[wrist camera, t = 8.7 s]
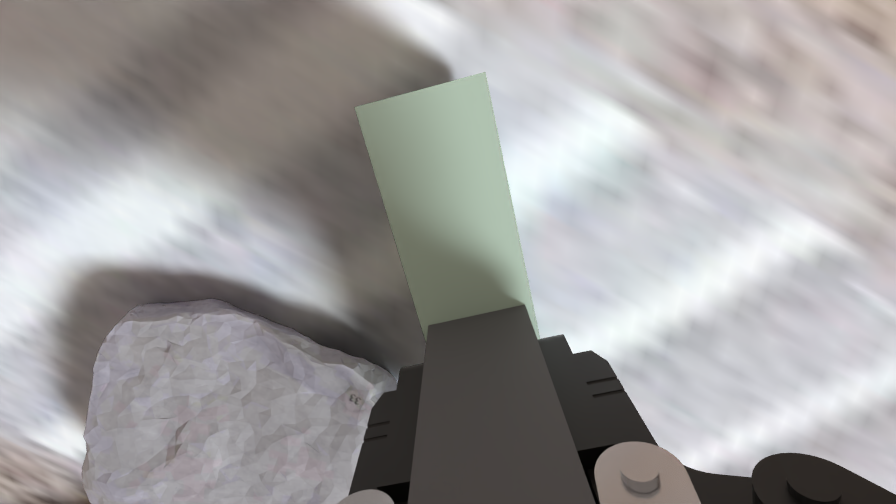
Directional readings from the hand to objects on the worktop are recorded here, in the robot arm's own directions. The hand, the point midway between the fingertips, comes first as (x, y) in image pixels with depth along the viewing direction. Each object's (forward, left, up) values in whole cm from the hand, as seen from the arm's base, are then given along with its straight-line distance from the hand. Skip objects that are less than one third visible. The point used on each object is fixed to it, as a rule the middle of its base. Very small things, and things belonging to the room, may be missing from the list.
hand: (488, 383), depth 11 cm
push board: (0, 0, -6) cm, 6 cm away
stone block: (-3, +10, -8) cm, 13 cm away
